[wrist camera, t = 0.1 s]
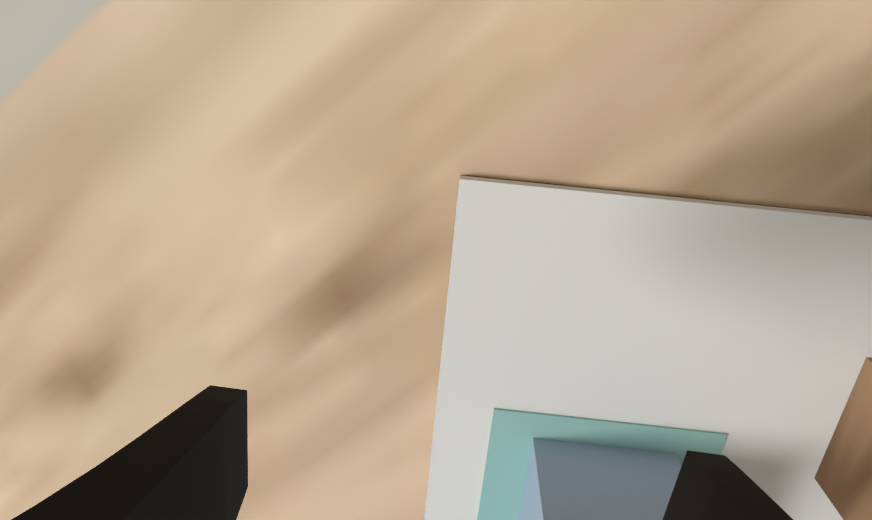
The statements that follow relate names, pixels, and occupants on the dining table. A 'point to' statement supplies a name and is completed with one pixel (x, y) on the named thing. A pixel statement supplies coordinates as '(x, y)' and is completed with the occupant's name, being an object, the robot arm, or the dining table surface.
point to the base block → (596, 482)
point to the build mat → (644, 337)
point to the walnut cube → (851, 454)
